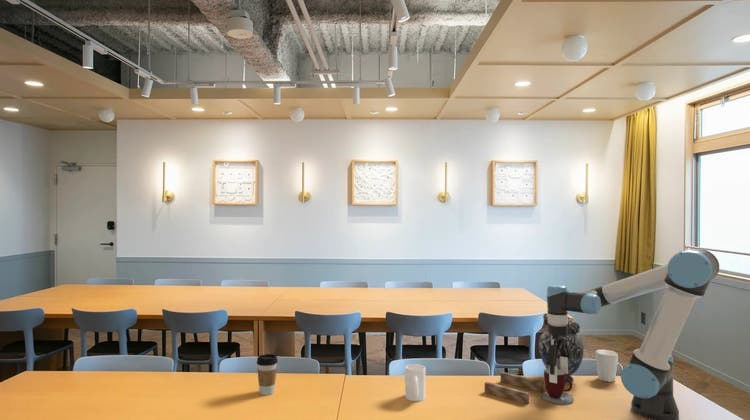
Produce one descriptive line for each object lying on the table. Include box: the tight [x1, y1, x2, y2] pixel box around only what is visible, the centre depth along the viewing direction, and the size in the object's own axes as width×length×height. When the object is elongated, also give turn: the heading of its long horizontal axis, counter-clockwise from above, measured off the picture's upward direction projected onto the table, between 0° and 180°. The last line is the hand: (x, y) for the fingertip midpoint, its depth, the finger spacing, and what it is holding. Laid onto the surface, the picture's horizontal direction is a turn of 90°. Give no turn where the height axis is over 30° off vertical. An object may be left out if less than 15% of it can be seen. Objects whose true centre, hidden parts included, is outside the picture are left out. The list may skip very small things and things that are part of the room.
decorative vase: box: [538, 312, 585, 384], centre depth 202 cm, size 21×19×28 cm
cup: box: [594, 349, 619, 383], centre depth 202 cm, size 9×9×12 cm
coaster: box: [541, 391, 575, 406], centre depth 180 cm, size 12×12×1 cm
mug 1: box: [404, 363, 426, 402], centre depth 179 cm, size 8×12×12 cm
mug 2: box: [543, 368, 573, 398], centre depth 181 cm, size 11×8×10 cm
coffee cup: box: [256, 353, 278, 396], centre depth 185 cm, size 8×8×15 cm
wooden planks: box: [484, 371, 544, 405], centre depth 187 cm, size 18×17×4 cm
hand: (558, 377), depth 180 cm, fingers open, 13 cm apart
